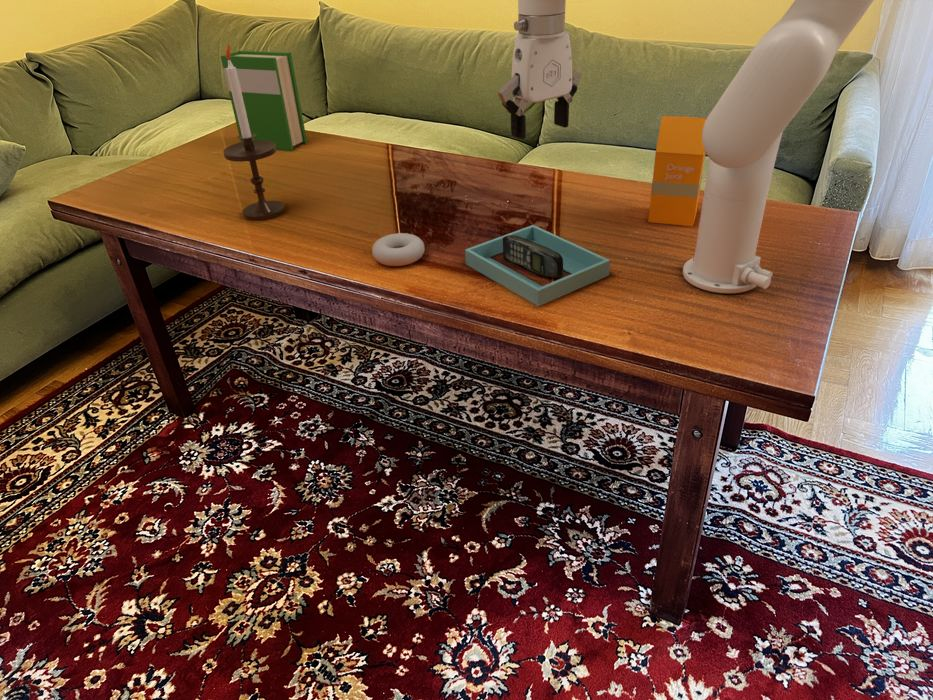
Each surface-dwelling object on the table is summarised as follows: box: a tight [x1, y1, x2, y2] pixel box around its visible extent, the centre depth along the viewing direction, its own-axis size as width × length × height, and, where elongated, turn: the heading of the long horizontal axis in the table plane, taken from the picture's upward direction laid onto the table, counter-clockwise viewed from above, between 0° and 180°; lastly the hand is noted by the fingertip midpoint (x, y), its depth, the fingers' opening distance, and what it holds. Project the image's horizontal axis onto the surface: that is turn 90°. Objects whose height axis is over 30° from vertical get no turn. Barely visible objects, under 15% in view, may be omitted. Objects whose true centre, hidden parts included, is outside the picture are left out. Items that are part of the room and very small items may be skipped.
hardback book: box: [220, 50, 308, 152], centre depth 187 cm, size 18×7×24 cm, turn 65°
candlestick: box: [222, 43, 286, 221], centre depth 141 cm, size 11×11×35 cm
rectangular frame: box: [464, 224, 611, 307], centre depth 121 cm, size 20×16×3 cm
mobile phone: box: [502, 235, 567, 279], centre depth 121 cm, size 5×3×15 cm
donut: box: [371, 232, 426, 267], centre depth 128 cm, size 10×4×10 cm
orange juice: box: [647, 115, 707, 227], centre depth 132 cm, size 8×9×20 cm
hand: (540, 131), depth 119 cm, fingers open, 9 cm apart
